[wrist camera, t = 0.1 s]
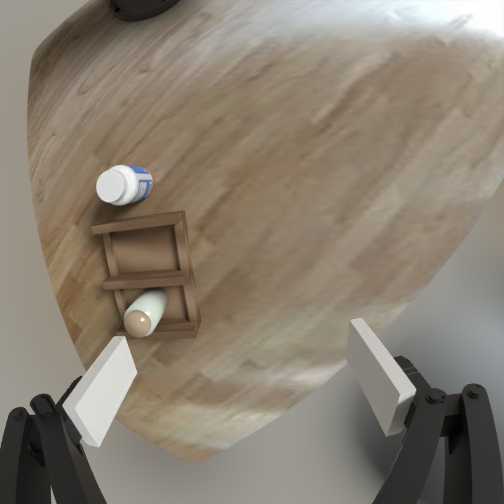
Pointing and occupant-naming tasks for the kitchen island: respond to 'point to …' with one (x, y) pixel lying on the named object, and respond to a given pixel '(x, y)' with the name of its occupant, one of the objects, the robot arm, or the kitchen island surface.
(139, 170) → the pill bottle
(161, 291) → the jar
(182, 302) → the rack
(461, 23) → the kitchen island surface
